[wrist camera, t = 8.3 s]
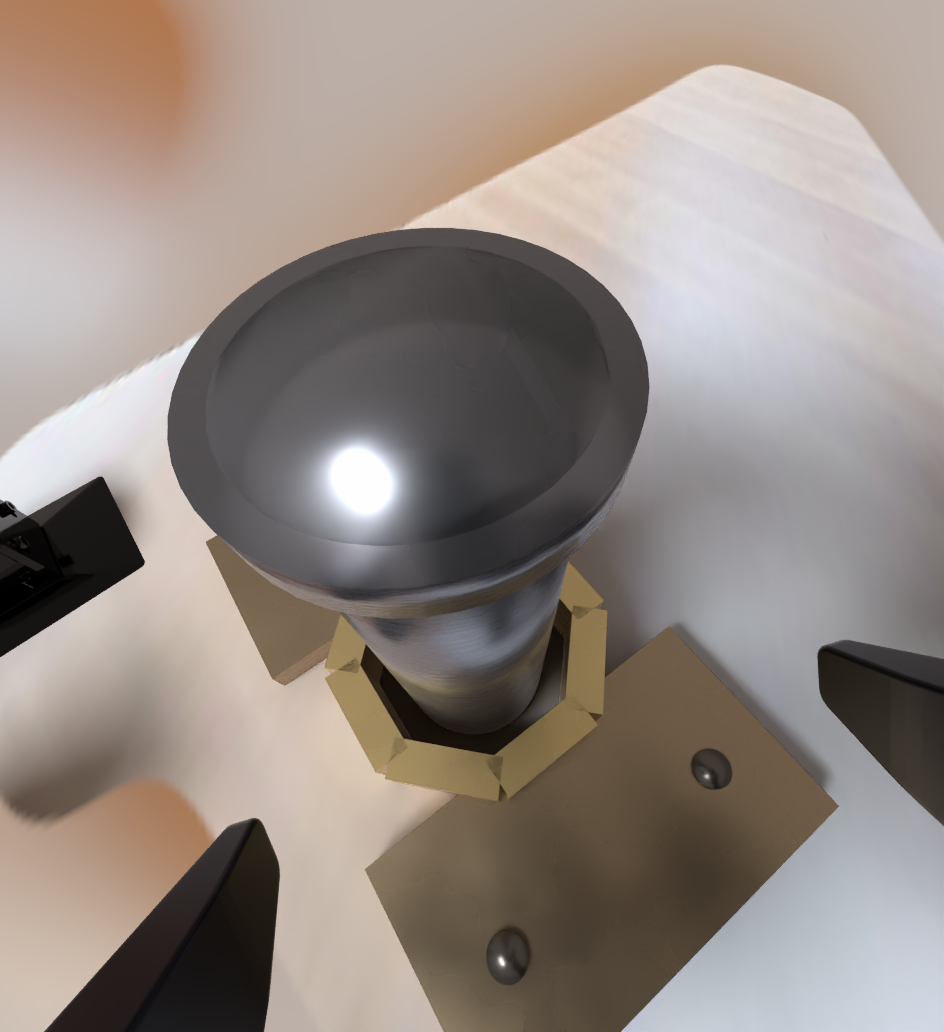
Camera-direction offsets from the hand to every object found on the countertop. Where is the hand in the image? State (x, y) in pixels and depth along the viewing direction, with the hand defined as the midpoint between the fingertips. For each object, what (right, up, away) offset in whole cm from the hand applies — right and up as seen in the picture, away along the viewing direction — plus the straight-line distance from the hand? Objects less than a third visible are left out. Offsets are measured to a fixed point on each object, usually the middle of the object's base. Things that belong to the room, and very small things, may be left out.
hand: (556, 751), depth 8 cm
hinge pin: (-1, -1, +9) cm, 9 cm away
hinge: (-1, -1, +9) cm, 9 cm away
